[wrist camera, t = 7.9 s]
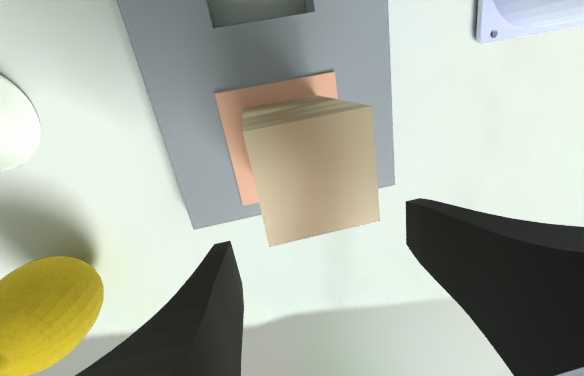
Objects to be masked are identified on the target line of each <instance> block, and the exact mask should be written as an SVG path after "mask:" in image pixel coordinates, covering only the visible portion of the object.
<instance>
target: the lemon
mask: <svg viewBox="0 0 584 376" xmlns="http://www.w3.org/2000/svg"><path fill="white" fill-rule="evenodd" d="M102 303H103V284H102V281H101V278H100V276H99V275H98V273H97V272H96V270H95V269H94V268H93V267H92V266H90V265H89V264H88V263H86V262H84V261H82V260H80V259H77V258H73V257H66V256H54V257H46V258H42V259H39V260H35V261H32V262H29V263H27V264H25V265H23V266H21V267H20V268H18V269H16V270H14V271H13V272H11V273H9V274H8V275H6V276H5V277H4V278H2V279H1V280H0V376H27V375H31V374H34V373H37V372H39V371H42V370H44V369H46V368H48V367H50V366H52V365H53V364H55V363H56V362H58V361H59V360H61V359H62V358H63V357H64V356H66V355H67V354H68V353H69V352H71V351H72V350H73V349H74V348H75V347H76V346H77V345H78V344H79V342H80V341H81V340H82V339H83V338H84V336H85V335H86V334H87V333H88V331H89V330H90V329H91V327H92V326H93V324H94V323H95V321H96V319H97V317H98V314H99V312H100V309H101V306H102Z"/></svg>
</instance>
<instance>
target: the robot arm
mask: <svg viewBox="0 0 584 376" xmlns="http://www.w3.org/2000/svg"><path fill="white" fill-rule="evenodd" d="M580 26H584V0H478V16H477V33H476V40H477V42H478V43H479V44H486V43H492V42H497V41H503V40H508V39H514V38H519V37H525V36H530V35H536V34H541V33H547V32H552V31H558V30H563V29H569V28H574V27H580ZM491 32H493V36H492V37H491V36H490V34H491ZM406 244H407V246H408V247H409V249H410V250H411V252H412V253H413V255H414V256H415V257H416V259H417V260H418V261H419V263H420V264H421V265H422V266H423V267H424V268H425V269H426V270H427V271H428V272H429V274H430V275H431V276H432V277H433V278H434V279H435V280H436V281H437V282H438V283H439V284H440V285H441V286H442V287H443V288H444V289H445V290H446V291H447V292H448V293H449V294H450V295H451V297H452V298H453V299H454V300H455V301H456V302H457V303H458V304H459V305H460V306H461V307H462V308H463V309H464V310H465V312H466V313H467V314H468V315H469V316H470V317H471V319H472V320H473V321H474V323H475V324H476V325H477V326H478V328H479V329H480V330H481V331H482V333H483V334H484V335H485V337H486V338H487V339H488V341H489V342H490V343H491V345H492V346H493V347H494V349H495V350H496V351H497V353H498V354H499V355H500V357H501V358H502V359H503V361H504V362H505V364H506V365H507V366H508V368H509V369H510V371H511V372H512V373H513V375H514V376H584V227H577V226H565V225H555V224H546V223H538V222H531V221H524V220H518V219H512V218H506V217H502V216H497V215H492V214H487V213H483V212H478V211H474V210H470V209H466V208H462V207H458V206H454V205H450V204H446V203H442V202H437V201H433V200H428V199H421V198H419V199H415V200H410V201H406ZM243 314H244V302H243V288H242V281H241V278H240V274H239V270H238V267H237V263H236V260H235V256H234V252H233V249H232V245H231V241H227V242H223V243H218V244H214V246H213V247H212V248H211V250H210V251H209V252H208V254H207V255H206V257H205V258H204V259H203V261H202V262H201V263H200V265H199V266H198V267H197V269H196V270H195V271H194V273H193V274H192V275H191V276H190V278H189V279H188V280H187V281H186V282H185V284H184V285H183V286H182V287H181V288H180V289H179V291H178V292H177V293H176V294H175V295H174V296H173V297H172V298H171V299H170V300H169V302H168V303H167V304H166V305H165V306H164V307H162V308H161V309H160V310H159V311H158V312H157V313H156V314H155V315H154V316H153V317H152V318H151V319H150V320H149V321H147V322H146V323H145V324H144V325H143V326H141V327H140V328H139V329H138V330H137V331H136V332H134V333H133V334H132V335H131V336H130V337H129V338H127V339H126V340H125V341H124V342H122V343H121V344H120V345H118V346H117V347H115V348H114V349H113V350H112V351H110V352H109V353H107V354H106V355H105V356H103V357H102V358H100V359H99V360H98V361H96V362H95V363H93V364H92V365H90V366H89V367H88V368H86V369H85V370H83V371H82V372H80V373H78V374H77V375H75V376H241V350H242V333H243Z"/></svg>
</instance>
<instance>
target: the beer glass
mask: <svg viewBox="0 0 584 376" xmlns="http://www.w3.org/2000/svg"><path fill="white" fill-rule="evenodd" d="M40 137H41V128H40V122H39V119H38V116H37V113H36V111H35V109H34V107H33V105H32V104H31V102H30V101H29V99H28V98H27V97H26V96H25V94H24V93H23V92H22V91H21V90H20V89H19V88H18V87H17V86H15V85H14V84H13V83H12V82H10V81H9V80H8V79H6V78H5V77H3V76H1V75H0V172H4V171H8V170H11V169H14V168H17V167H19V166H21V165H22V164H24V163H25V162H27V161H28V160H29V159H30V158H31V157H32V156H33V155H34V153H35V152H36V150H37V148H38V146H39V142H40Z"/></svg>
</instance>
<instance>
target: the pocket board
mask: <svg viewBox="0 0 584 376" xmlns="http://www.w3.org/2000/svg"><path fill="white" fill-rule="evenodd" d="M117 2H118V5H119V8H120V11H121V14H122V17H123V20H124V23H125V26H126V29H127V32H128V35H129V38H130V41H131V44H132V47H133V50H134V53H135V56H136V59H137V62H138V65H139V68H140V71H141V74H142V77H143V80H144V83H145V86H146V89H147V92H148V95H149V98H150V101H151V104H152V107H153V110H154V113H155V116H156V119H157V122H158V125H159V128H160V131H161V134H162V137H163V140H164V143H165V146H166V149H167V152H168V155H169V158H170V161H171V164H172V167H173V170H174V173H175V176H176V179H177V182H178V185H179V188H180V191H181V194H182V197H183V200H184V203H185V206H186V209H187V212H188V215H189V218H190V221H191V224H192V227H193V230H195V229H199V228H204V227H208V226H213V225H217V224H222V223H226V222H231V221H235V220H240V219H244V218H249V217H253V216H258V215H262V212H261V208H260V204H259V200H258V195H257V191H256V187H255V182H254V178H253V174H252V170H251V165H250V161H249V157H248V153H247V148H246V144H245V140H244V135H243V125H242V109H246V108H251V107H256V106H261V105H266V104H271V103H277V102H282V101H287V100H292V99H297V98H303V97H308V96H313V95H319V96H324V97H329V98H334V99H339V100H344V101H350V102H355V103H360V104H365V105H370V106H372V109H373V124H374V139H375V155H376V170H377V185H378V188H383V187H387V186H392V185H395V174H394V148H393V122H392V96H391V69H390V43H389V17H388V0H305V5H306V13H304V14H298V15H291V16H285V17H279V18H273V19H267V20H261V21H254V22H248V23H242V24H236V25H230V26H223V27H217V28H214V26H213V22H212V17H211V13H210V9H209V5H208V0H117Z"/></svg>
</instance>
